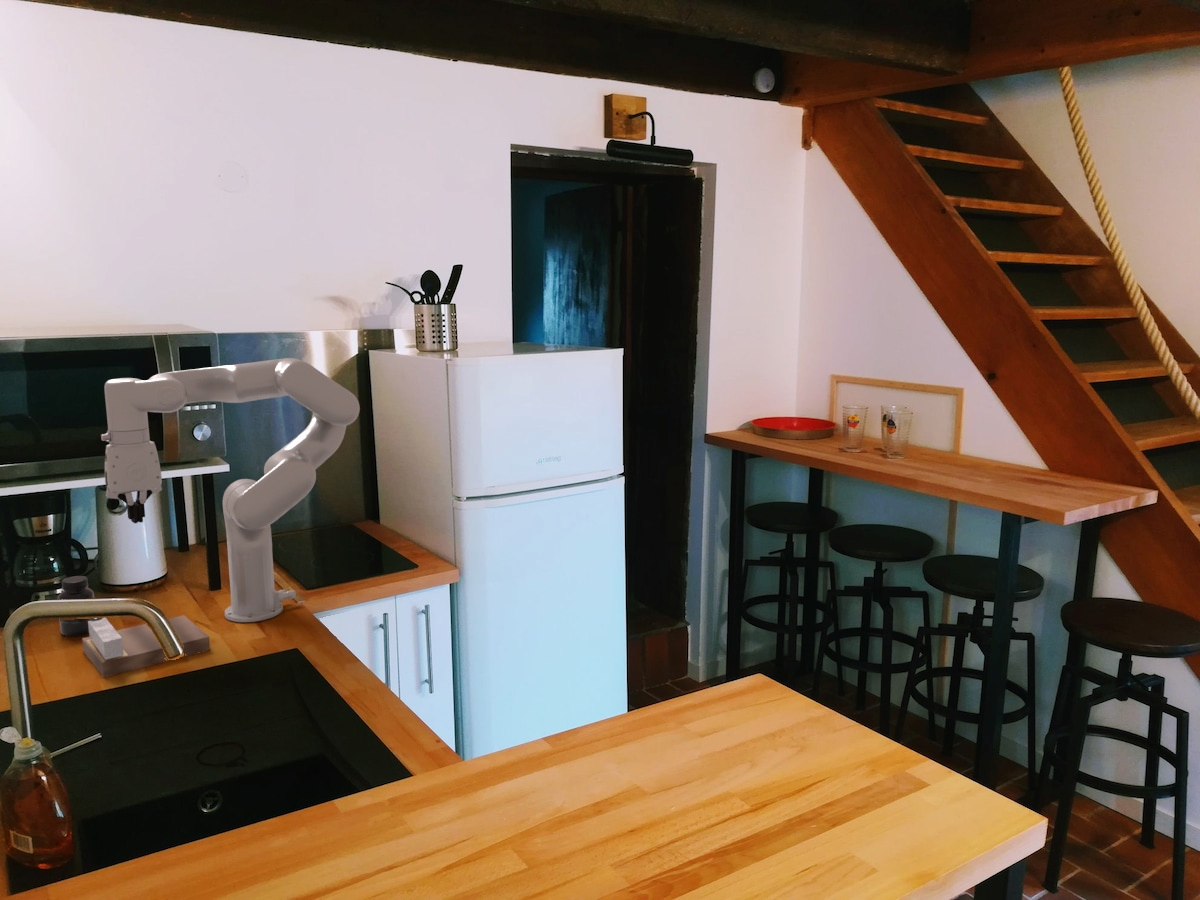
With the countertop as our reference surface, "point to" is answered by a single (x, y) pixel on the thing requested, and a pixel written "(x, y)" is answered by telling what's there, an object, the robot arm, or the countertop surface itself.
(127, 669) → the stool seat
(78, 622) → the supplement bottle
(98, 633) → the stool leg
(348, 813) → the countertop surface
